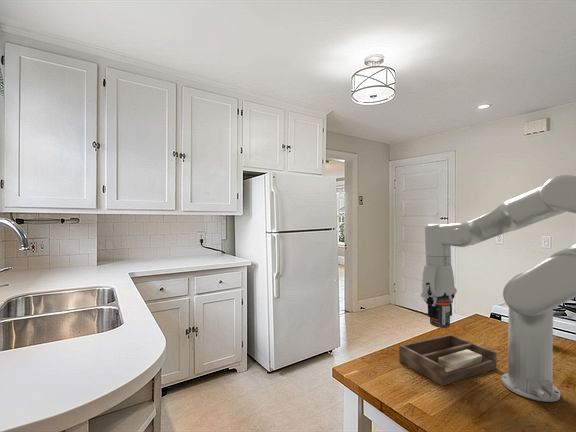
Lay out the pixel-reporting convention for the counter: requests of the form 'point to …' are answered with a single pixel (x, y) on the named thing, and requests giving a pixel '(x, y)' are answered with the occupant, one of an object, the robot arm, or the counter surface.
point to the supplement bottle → (442, 312)
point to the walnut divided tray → (429, 350)
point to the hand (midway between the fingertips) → (440, 315)
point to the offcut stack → (459, 360)
